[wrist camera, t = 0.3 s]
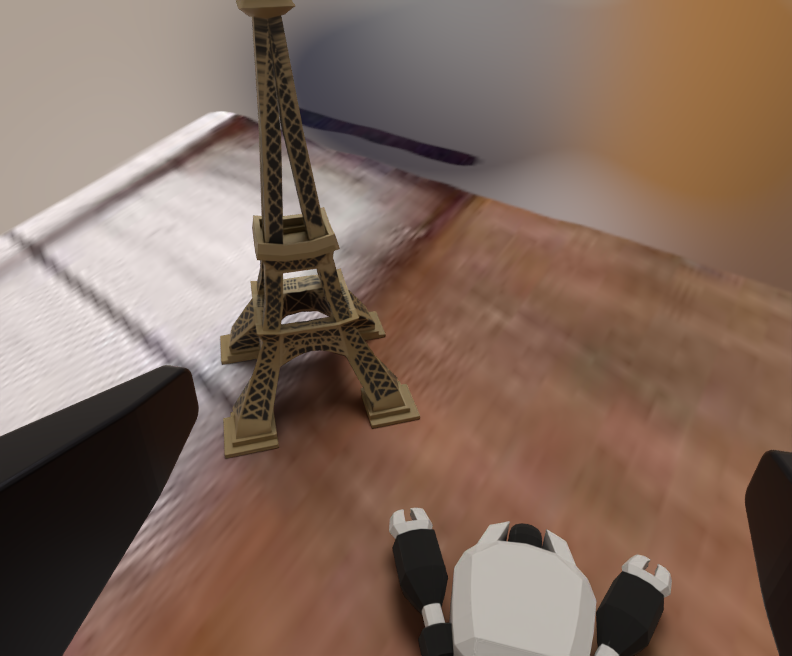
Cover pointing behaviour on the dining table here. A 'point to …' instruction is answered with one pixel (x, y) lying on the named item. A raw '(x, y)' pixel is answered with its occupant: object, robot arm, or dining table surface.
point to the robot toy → (522, 595)
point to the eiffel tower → (295, 268)
